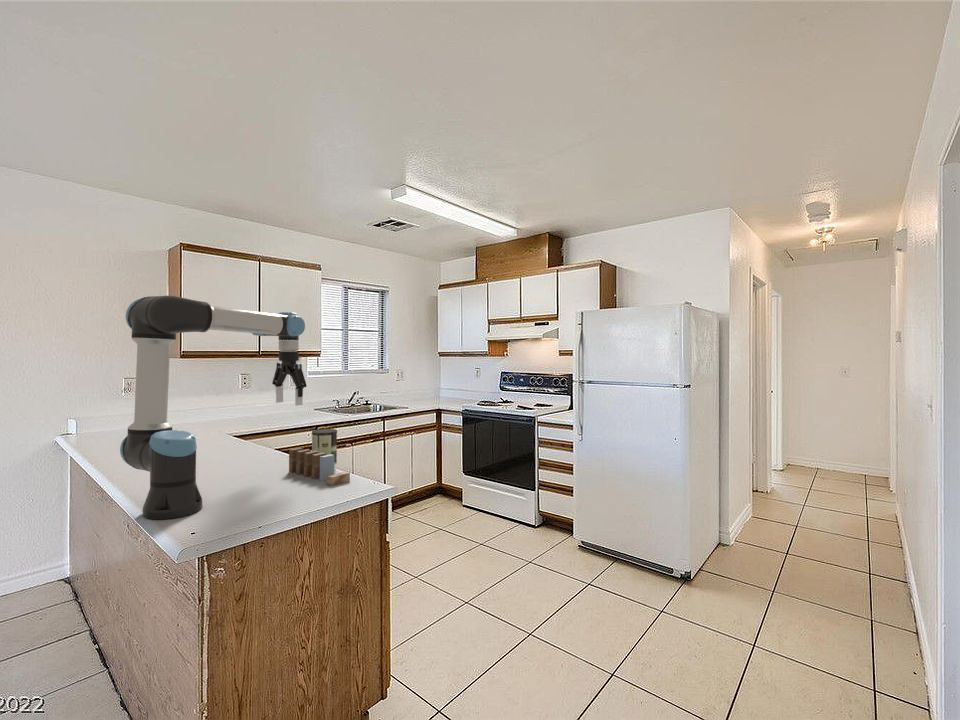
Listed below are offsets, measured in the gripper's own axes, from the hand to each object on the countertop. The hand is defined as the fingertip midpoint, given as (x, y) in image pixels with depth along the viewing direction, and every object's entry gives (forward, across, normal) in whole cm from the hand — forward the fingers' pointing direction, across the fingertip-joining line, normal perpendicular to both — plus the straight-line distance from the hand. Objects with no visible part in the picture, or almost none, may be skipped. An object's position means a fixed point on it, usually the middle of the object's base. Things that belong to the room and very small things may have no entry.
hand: (289, 403), depth 196 cm
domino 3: (+27, -15, 0) cm, 30 cm away
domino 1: (+27, -5, 0) cm, 27 cm away
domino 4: (+27, -20, 0) cm, 33 cm away
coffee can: (+27, -3, -15) cm, 31 cm away
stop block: (+26, -31, 0) cm, 41 cm away
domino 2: (+27, -10, 0) cm, 28 cm away
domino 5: (+26, -24, 0) cm, 36 cm away
